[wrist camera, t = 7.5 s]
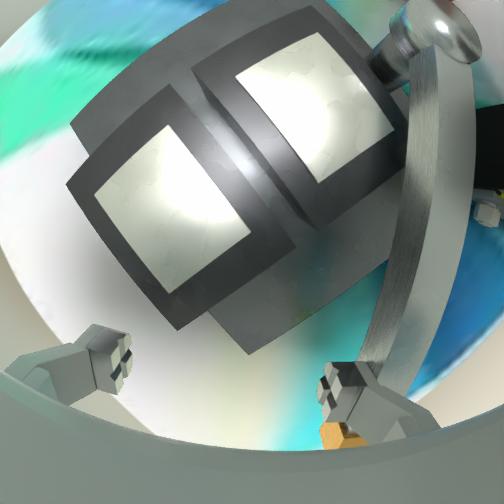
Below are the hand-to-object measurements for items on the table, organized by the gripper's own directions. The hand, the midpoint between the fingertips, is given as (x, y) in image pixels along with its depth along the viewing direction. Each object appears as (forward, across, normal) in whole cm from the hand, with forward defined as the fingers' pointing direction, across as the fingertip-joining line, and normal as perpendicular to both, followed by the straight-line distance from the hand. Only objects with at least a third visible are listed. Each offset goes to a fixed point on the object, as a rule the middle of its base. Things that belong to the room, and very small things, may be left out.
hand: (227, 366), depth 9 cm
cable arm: (+1, -6, -6) cm, 8 cm away
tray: (+7, -1, -9) cm, 12 cm away
